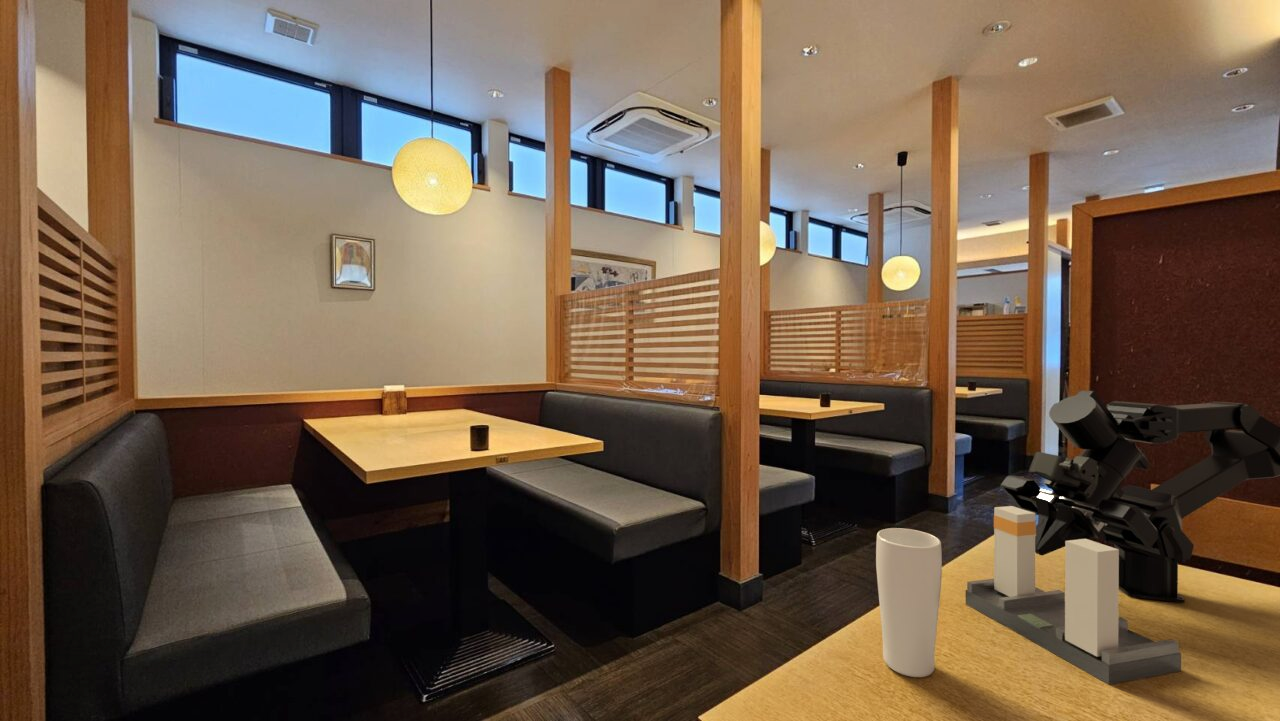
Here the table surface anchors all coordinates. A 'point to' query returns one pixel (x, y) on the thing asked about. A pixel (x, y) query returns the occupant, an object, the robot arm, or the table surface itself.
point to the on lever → (1091, 595)
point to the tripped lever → (1014, 551)
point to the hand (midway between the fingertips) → (1037, 552)
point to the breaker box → (1046, 627)
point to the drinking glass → (909, 598)
